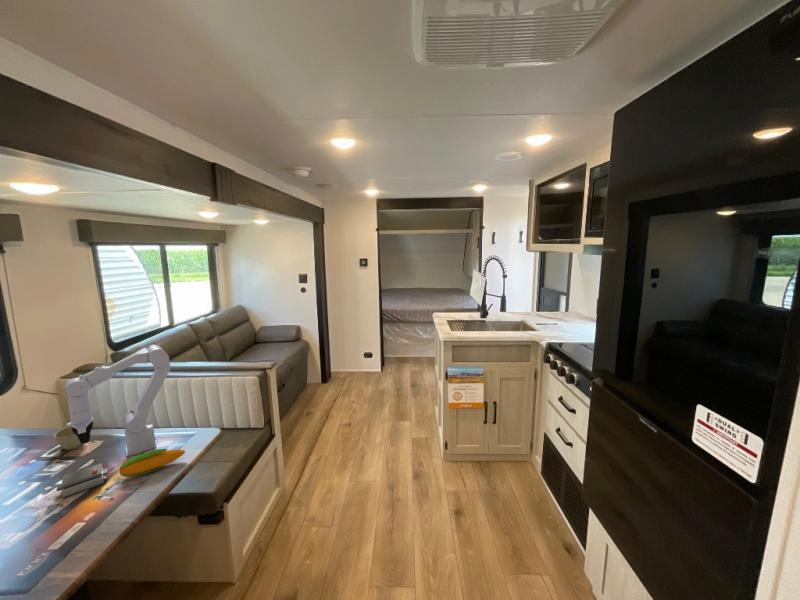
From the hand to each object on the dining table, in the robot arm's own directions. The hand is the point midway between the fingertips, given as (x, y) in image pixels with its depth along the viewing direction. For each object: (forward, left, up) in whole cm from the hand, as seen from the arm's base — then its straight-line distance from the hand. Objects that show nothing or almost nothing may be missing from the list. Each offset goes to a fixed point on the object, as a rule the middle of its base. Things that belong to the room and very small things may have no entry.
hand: (85, 442), depth 122 cm
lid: (+1, +13, -7) cm, 14 cm away
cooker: (+1, +13, -10) cm, 16 cm away
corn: (-19, +18, -10) cm, 28 cm away
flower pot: (+5, -21, -10) cm, 24 cm away
